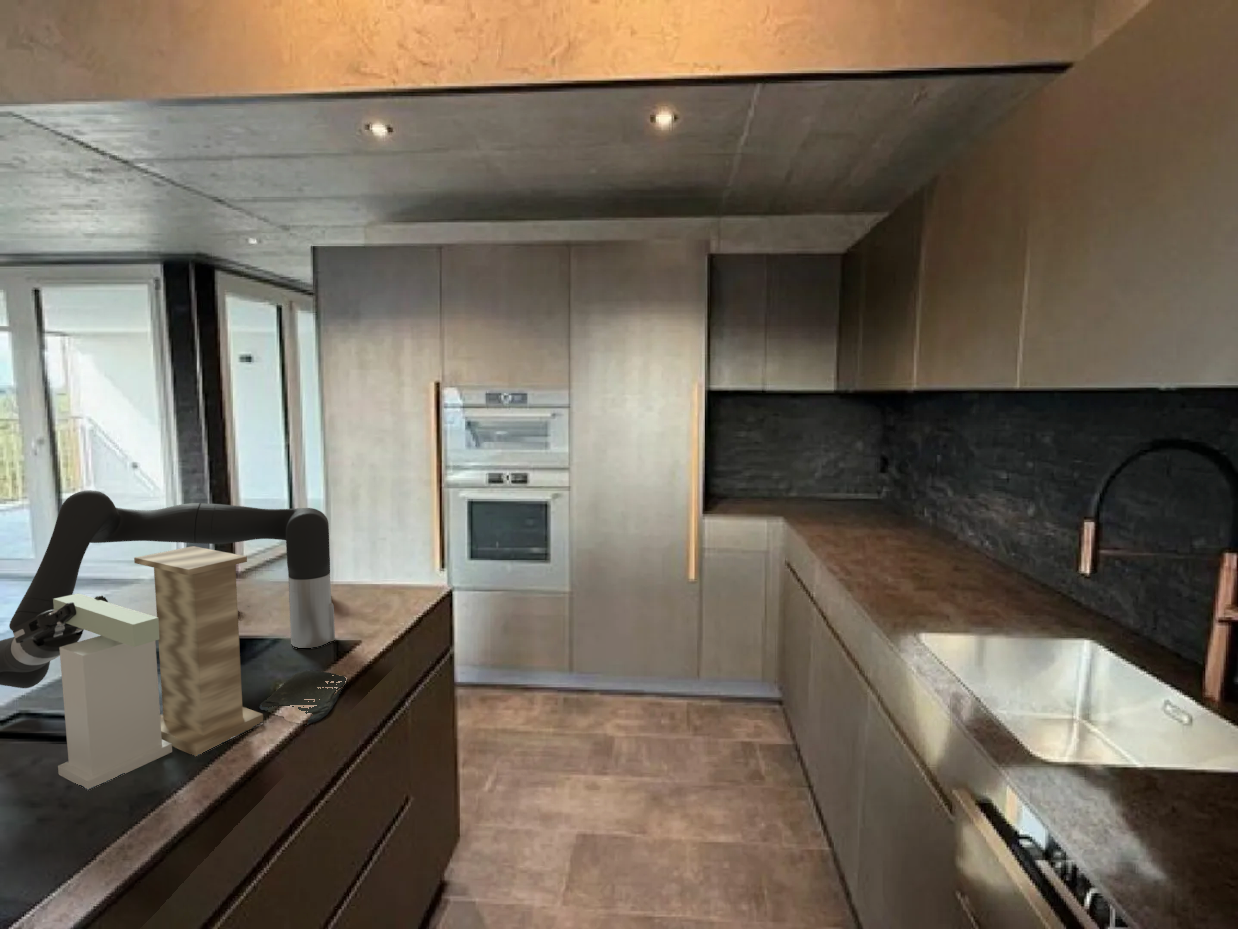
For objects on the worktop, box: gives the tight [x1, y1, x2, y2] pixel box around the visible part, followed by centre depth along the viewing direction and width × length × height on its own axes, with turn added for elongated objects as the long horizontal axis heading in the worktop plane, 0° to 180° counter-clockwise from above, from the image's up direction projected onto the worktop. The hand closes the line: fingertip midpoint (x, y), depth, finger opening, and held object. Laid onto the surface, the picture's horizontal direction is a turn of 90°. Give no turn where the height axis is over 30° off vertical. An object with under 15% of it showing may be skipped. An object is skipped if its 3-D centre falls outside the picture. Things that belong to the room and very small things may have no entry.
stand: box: [133, 545, 264, 757], centre depth 113 cm, size 17×12×32 cm
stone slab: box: [259, 669, 346, 726], centre depth 127 cm, size 24×17×2 cm
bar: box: [53, 593, 159, 647], centre depth 101 cm, size 24×4×4 cm, turn 64°
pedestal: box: [57, 635, 173, 789], centre depth 103 cm, size 9×12×21 cm
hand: (87, 604), depth 103 cm, fingers closed on bar, 3 cm apart
